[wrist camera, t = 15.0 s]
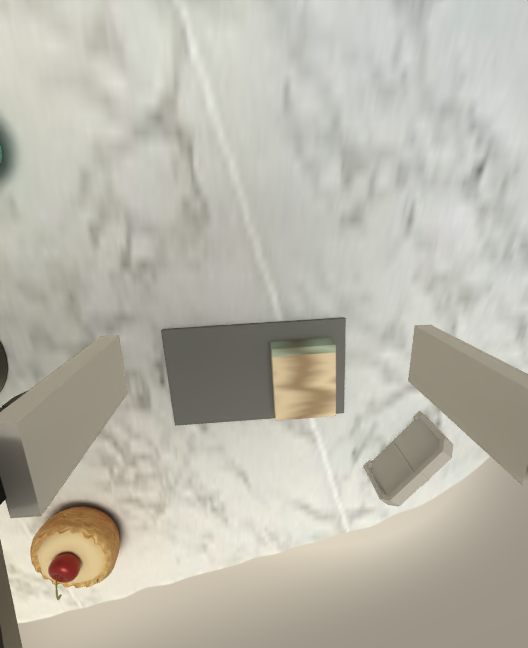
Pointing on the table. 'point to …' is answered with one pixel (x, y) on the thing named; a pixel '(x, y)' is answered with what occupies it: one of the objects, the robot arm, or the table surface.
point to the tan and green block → (304, 378)
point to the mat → (236, 368)
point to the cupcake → (0, 154)
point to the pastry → (76, 547)
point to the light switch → (409, 461)
